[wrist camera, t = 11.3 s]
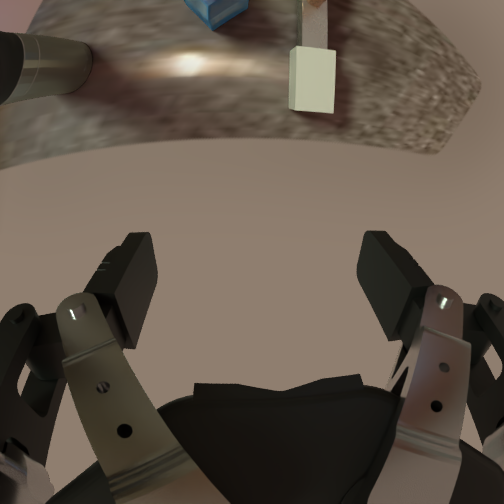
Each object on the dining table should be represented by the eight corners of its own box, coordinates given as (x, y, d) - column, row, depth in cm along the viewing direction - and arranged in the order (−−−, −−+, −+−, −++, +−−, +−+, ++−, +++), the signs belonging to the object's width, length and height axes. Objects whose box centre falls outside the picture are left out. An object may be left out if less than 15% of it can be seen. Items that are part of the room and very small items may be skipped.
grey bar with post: (296, 70, 34) (322, 61, 23) (297, -23, 26) (319, -60, 14) (320, 72, 34) (354, 66, 23) (320, -19, 26) (350, -53, 15)
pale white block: (288, 108, 38) (294, 110, 34) (289, 51, 33) (296, 45, 29) (322, 110, 38) (333, 113, 34) (324, 54, 34) (335, 50, 29)
